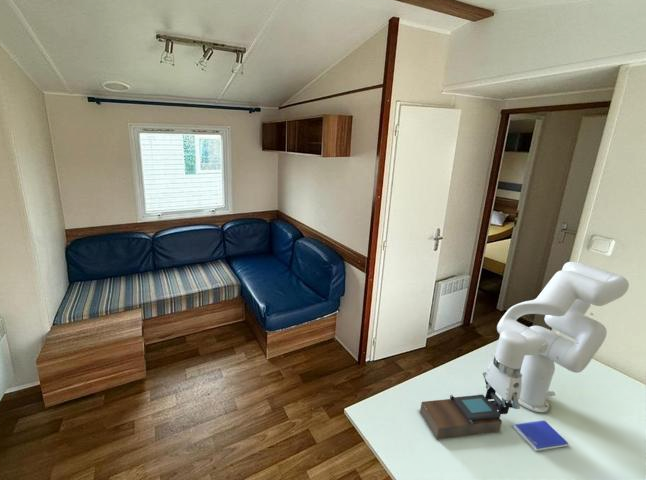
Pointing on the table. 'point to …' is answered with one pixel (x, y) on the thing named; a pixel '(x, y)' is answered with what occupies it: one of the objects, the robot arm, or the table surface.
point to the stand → (454, 420)
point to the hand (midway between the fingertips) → (495, 405)
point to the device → (479, 406)
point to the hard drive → (540, 435)
